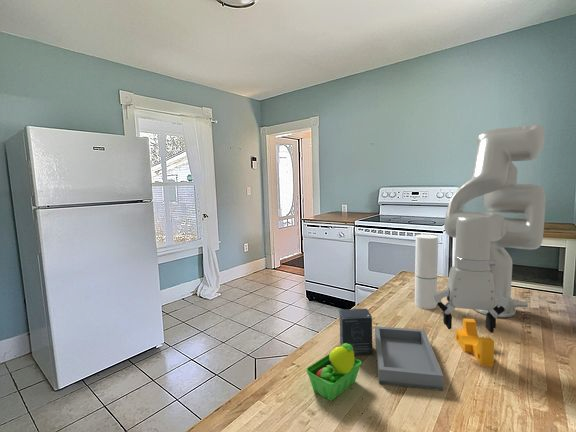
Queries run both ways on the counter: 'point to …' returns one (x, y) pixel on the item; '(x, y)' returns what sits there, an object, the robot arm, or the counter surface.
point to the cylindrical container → (426, 270)
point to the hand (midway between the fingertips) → (468, 328)
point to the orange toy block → (475, 343)
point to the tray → (406, 359)
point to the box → (356, 330)
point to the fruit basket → (334, 372)
